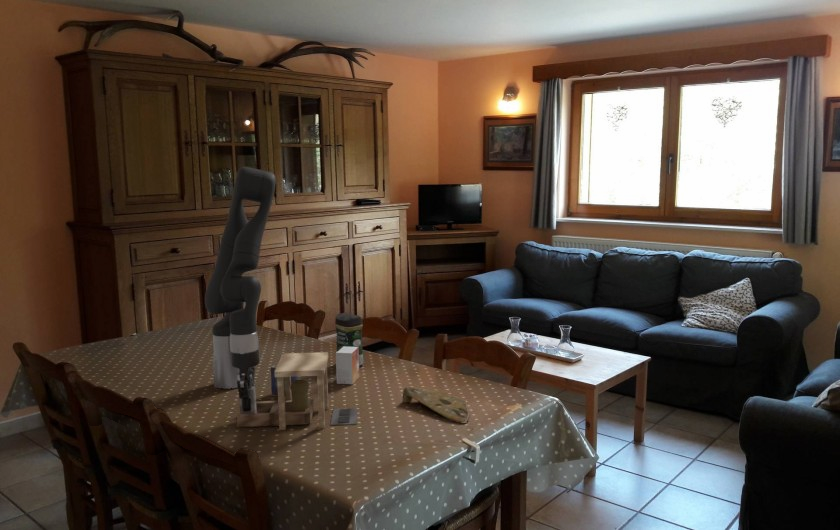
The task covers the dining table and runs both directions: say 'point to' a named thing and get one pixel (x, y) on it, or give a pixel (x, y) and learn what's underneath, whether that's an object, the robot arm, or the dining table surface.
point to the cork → (299, 395)
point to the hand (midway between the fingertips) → (248, 408)
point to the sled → (271, 413)
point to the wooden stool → (317, 367)
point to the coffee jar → (349, 332)
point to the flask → (274, 381)
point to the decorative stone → (439, 403)
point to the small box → (347, 365)
